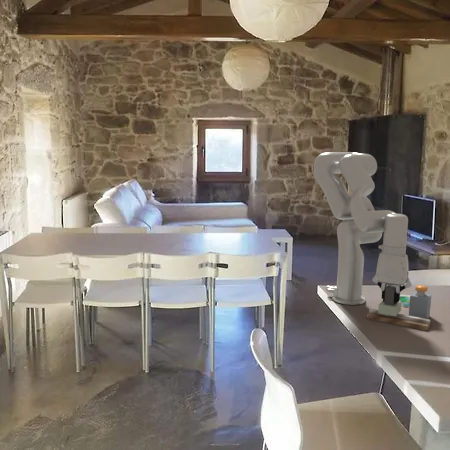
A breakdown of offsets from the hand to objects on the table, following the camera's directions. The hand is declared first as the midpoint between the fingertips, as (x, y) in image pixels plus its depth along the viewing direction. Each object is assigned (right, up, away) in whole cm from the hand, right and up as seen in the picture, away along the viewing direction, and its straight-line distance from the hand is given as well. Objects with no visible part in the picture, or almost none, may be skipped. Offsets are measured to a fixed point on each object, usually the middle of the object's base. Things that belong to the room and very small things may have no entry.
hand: (390, 301), depth 183 cm
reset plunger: (+12, 0, +4) cm, 12 cm away
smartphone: (+14, -4, +22) cm, 26 cm away
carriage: (0, -4, +1) cm, 4 cm away
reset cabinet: (+12, -6, +5) cm, 14 cm away
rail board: (+3, -7, 0) cm, 7 cm away
